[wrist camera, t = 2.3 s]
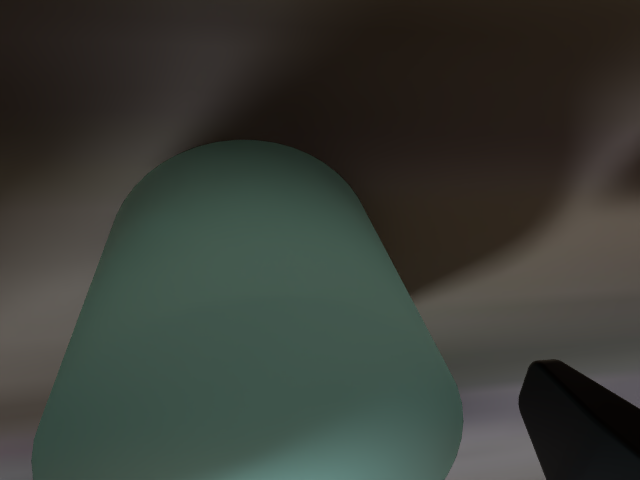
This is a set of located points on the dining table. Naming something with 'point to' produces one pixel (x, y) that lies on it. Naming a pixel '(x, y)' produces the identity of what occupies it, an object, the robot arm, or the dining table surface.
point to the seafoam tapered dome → (248, 337)
